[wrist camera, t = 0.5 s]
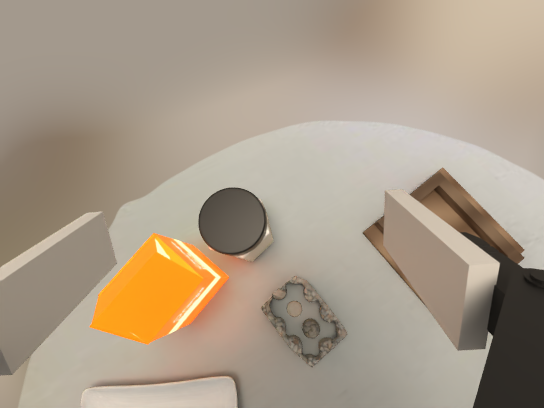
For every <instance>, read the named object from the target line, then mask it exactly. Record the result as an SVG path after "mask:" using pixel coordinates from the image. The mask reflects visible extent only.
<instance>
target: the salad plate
mask: <svg viewBox="0 0 544 408" xmlns="http://www.w3.org/2000/svg"><path fill="white" fill-rule="evenodd" d="M81 408H238V401H237V390H236V384H235V381H234V380H233V378H231V377H230V376H216V377H207V378H200V379H193V380H186V381H178V382H170V383H159V384H147V385H126V386H100V387H90V388H87V389H85V390H84V391H83V392H82V395H81Z"/></svg>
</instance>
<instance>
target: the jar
mask: <svg viewBox="0 0 544 408" xmlns="http://www.w3.org/2000/svg"><path fill="white" fill-rule="evenodd" d="M199 230H200V234H201V236H202V238H203V240H204V241H205V243H206V244H207V245H208V246H209V249H211V250H214V251H217V252H219V253H222V254H225V255H229V256H233V257H236V258H240V259H243V260H247V261H250V262H253V261H254V260H255V259H256V258H257V257H258V256H259V255H260V254H261V253H262V252H263V251H264V250H265V249H266V248H267V247H268V246H269V245H270V244H272V243H273V241H274V240H273V236H272V232H271V228H270V224H269V220H268V215H267V212H266V210H265V207H264V205H263V202H262V200H261V199H258V198H257V197H256V196H255V195H254V194H252V193H251V192H249V191H247V190H245V189H241V188H226V189H222V190H220V191H217V192H216V193H214V194H213V195H211V196H210V197H209V198H208V199H207V200H206V202H205V203H204V205H203V206H202V208H201V211H200V214H199Z"/></svg>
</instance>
